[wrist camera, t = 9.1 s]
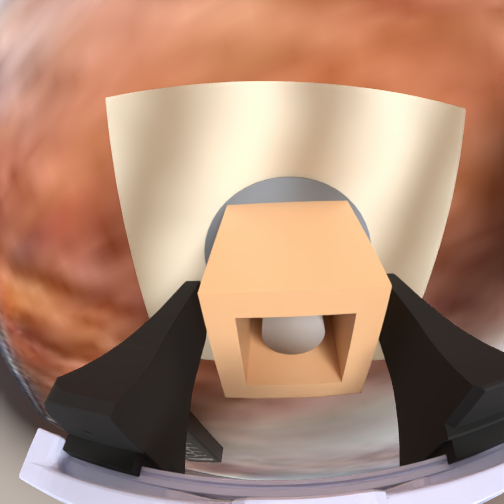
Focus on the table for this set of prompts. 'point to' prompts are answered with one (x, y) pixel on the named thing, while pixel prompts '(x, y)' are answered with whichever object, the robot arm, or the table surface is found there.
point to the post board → (280, 176)
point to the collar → (293, 298)
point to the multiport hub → (201, 443)
